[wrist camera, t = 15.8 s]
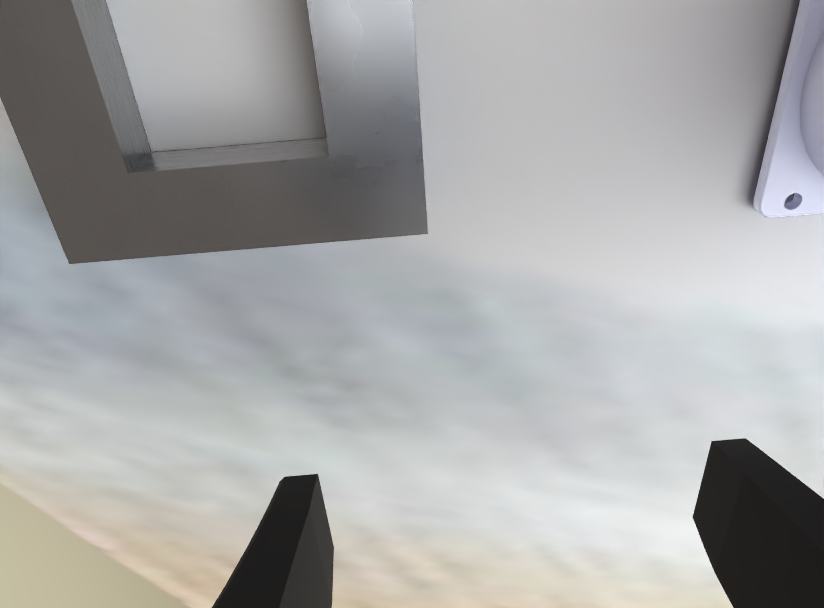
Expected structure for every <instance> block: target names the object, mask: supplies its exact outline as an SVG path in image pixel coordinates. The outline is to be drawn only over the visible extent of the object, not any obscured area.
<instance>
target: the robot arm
mask: <svg viewBox="0 0 824 608" xmlns="http://www.w3.org/2000/svg"><path fill="white" fill-rule="evenodd" d="M791 194H794V198H793V199H792V201H791V202H789V203H788V204H785V205H784V202H785V200H786V198H787V197H788V196H790V195H791ZM753 206H754V208H755V210H756V211H757V212H758V213H760V214H761V215H763V216H764V217H768V218H776V217H788V216H800V215H812V214H824V0H800V3H799V8H798V12H797V16H796V20H795V25H794V29H793V33H792V38H791V42H790V46H789V50H788V55H787V59H786V63H785V68H784V72H783V76H782V80H781V85H780V89H779V93H778V98H777V102H776V106H775V110H774V115H773V119H772V123H771V128H770V132H769V136H768V141H767V145H766V149H765V153H764V158H763V162H762V166H761V171H760V175H759V179H758V183H757V188H756V192H755V196H754V204H753ZM693 519H694V522H695V524H696V527H697V529H698V532H699V535H700V537H701V540H702V542H703V545H704V548H705V550H706V552H707V555H708V557H709V560H710V562H711V565H712V567H713V569H714V572H715V574H716V576H717V578H718V579H719V581H720V583H721V585H722V587H723V589H724V591H725V593H726V594H727V596H728V598H729V600H730V602H731V604H732V606H733V608H824V499H823V498H822V497H821V496H819V495H818V494H817V493H815V492H814V491H813V490H812V489H810V488H809V487H808V486H806V485H805V484H804V483H802V482H801V481H800V480H799V479H797V478H796V477H795V476H794V475H792V474H791V473H790V472H788V471H787V470H786V469H785V468H783V467H782V466H781V465H779V464H778V463H777V462H776V461H774V460H773V459H772V458H770V457H769V456H768V455H767V454H765V453H764V452H763V451H761V450H760V449H759V448H757V447H756V446H755V445H753V444H752V443H751V442H749V441H748V440H747V439H733V440H721V441H712V442H711V446H710V450H709V454H708V458H707V462H706V466H705V470H704V474H703V478H702V482H701V486H700V490H699V494H698V498H697V502H696V506H695V510H694V514H693ZM333 553H334V546H333V542H332V537H331V532H330V528H329V523H328V519H327V514H326V509H325V505H324V500H323V495H322V491H321V486H320V482H319V477H318V474H313V475H301V476H289V477H284V478H283V479H282V480H281V481H280V482H279V485H278V487H277V489H276V491H275V493H274V496H273V498H272V500H271V502H270V504H269V506H268V508H267V510H266V512H265V514H264V516H263V518H262V520H261V522H260V524H259V526H258V528H257V530H256V532H255V534H254V535H253V537H252V539H251V541H250V543H249V545H248V547H247V549H246V550H245V552H244V554H243V556H242V557H241V559H240V561H239V563H238V564H237V566H236V568H235V570H234V571H233V573H232V575H231V577H230V578H229V580H228V582H227V584H226V585H225V587H224V589H223V590H222V592H221V594H220V595H219V597H218V599H217V600H216V602H215V603H214V605H213V606H212V608H331V607H332V587H333Z"/></svg>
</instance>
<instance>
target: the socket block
mask: <svg viewBox="0 0 824 608" xmlns="http://www.w3.org/2000/svg"><path fill="white" fill-rule="evenodd" d="M306 1H307V8H308V15H309V22H310V29H311V35H312V42H313V49H314V56H315V63H316V70H317V76H318V83H319V90H320V97H321V104H322V110H323V117H324V124H325V131H326V138H317V139H305V140H293V141H282V142H270V143H258V144H246V145H234V146H223V147H211V148H199V149H187V150H175V151H164V152H152V153H151V150H150V147H149V144H148V140H147V137H146V134H145V130H144V127H143V124H142V120H141V117H140V114H139V111H138V107H137V104H136V101H135V97H134V94H133V91H132V87H131V84H130V81H129V77H128V74H127V71H126V67H125V64H124V61H123V57H122V54H121V51H120V47H119V44H118V41H117V38H116V34H115V31H114V28H113V24H112V21H111V18H110V14H109V11H108V8H107V4H106V1H105V0H0V97H1V100H2V102H3V104H4V107H5V109H6V112H7V114H8V117H9V119H10V121H11V124H12V126H13V129H14V131H15V133H16V136H17V138H18V141H19V143H20V146H21V148H22V150H23V153H24V155H25V158H26V160H27V163H28V165H29V167H30V170H31V172H32V175H33V177H34V180H35V182H36V184H37V187H38V189H39V192H40V194H41V196H42V199H43V201H44V204H45V206H46V209H47V211H48V213H49V216H50V218H51V221H52V223H53V226H54V228H55V230H56V233H57V235H58V238H59V240H60V243H61V245H62V247H63V250H64V252H65V255H66V257H67V259H68V262H69V264H75V263H87V262H98V261H110V260H122V259H134V258H146V257H158V256H170V255H182V254H193V253H205V252H217V251H229V250H241V249H253V248H265V247H277V246H288V245H300V244H312V243H324V242H336V241H348V240H360V239H371V238H383V237H395V236H407V235H419V234H428V230H427V214H426V199H425V184H424V168H423V153H422V137H421V122H420V107H419V91H418V76H417V60H416V45H415V30H414V14H413V0H306Z"/></svg>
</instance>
